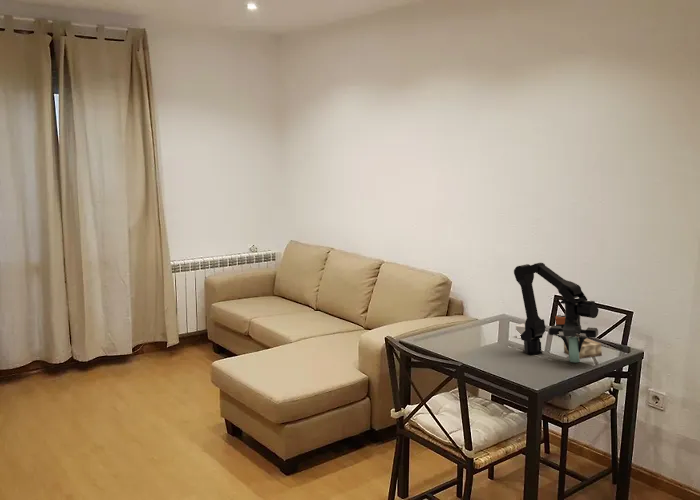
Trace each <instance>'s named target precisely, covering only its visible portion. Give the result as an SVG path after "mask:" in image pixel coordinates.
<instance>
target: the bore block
mask: <svg viewBox="0 0 700 500" xmlns="http://www.w3.org/2000/svg"><path fill="white" fill-rule="evenodd" d="M602 350H603V349H602V343H600V342H597V341H595V340H592V339H589V338H587V339H585V340H584V342H583V345H582V348H581V351H580V352H579V360H580V359H588V358H593V357H600V356H602V355H603V354H602V353H603V352H602ZM563 352H564V354H567V355H569V351H568V350H567V348H566V345H565V343H564V342H563Z"/></svg>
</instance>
